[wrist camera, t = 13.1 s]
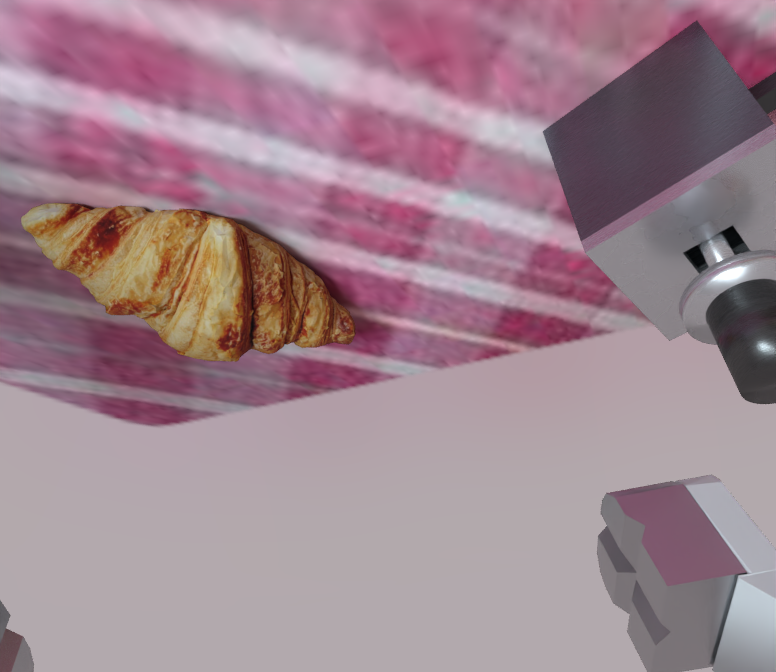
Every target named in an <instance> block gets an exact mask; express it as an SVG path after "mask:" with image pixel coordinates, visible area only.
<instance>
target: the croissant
mask: <svg viewBox="0 0 776 672" xmlns="http://www.w3.org/2000/svg"><path fill="white" fill-rule="evenodd" d="M21 222H22V226H23V228H24V229H25V230H26V231H27V232H29V233H31V234H32V235H33V236H34V238H35V242H36V243H37V245H38V246H39V247H40V248H42V253H43V254H44V255H45V256H46V257H47V258H49V259H51V260H52V262H53V265H54V267H56V268H57V269H58V270H66V271H68V272H70V273H72V274H74V275H76V276H77V277H78V278H80V281H81V283H82V284H83V285H84V286H85V287H86V288H88V289H89V291H90V293H91V294H92V295H93V296H94V297H95V299H96V301H97V302H98V303H101V304H102V305H105V308H106V313H108V314H110V315H133V314H134V315H136V316H137V317H139V318H142V319H144V320H145V321H146V322H147V323H148V324H149V325H150V327H151V328H153V329H154V330H156V331H157V332H158V334H159V336H160V338H161V339H162V340H163V342H165V343H166V344H167V345H169V346H171V347H172V348H174V349H176V350H177V352H178V354H181V355H184V356H188V357H192V358H196V359H202V360H207V361H230V362H231V361H235V362H236V361H238V360H239V358H240V357H241V356H242V355H243V354H244V353H246V352H247V351H248V350H250V349H255V350H258V351H260V352H263V353H267V354H270V353H275V352H277V351H278V350H279V349H281V348H282V347H283V346H284V344H289V343H291V342H294V343H295V344H296V345H298V346H300V347H301V348H306V347H319V346H323V345H326V344H329V343H333V342H336V343H340V344H350V343H351V342H352V340H353V338H354V336H355V334H356V333H355V323H354V320H353V318H352V317H351V315H350V312H349V311H348V310H347V309H345V308H344V307H343V306H341V305H340V304H339V303H337V302H336V300H335V299H334V298H332V297H331V296H330V294H329V291H328V290H327V288H326V286H325V284H324V283H323V281H322V279H321V278H320V277H319V276H317V275H315V273H314V272H313V271H312V270H311V269H309V268H308V267H307V266H306V265H304V264H302V263H300V262H298V261H297V260H296V259H295V258H293V257H292V256H291V255H290V254H289V253H288V252H287V251H286V250H285V249H284V248H283V247H282V246H281V245H279V244H278V243H276V242H274V241H272V240H270V239H268V238H266V237H264V236H262V235H260V234H258V233H254V232H252V231H251V230H250V229H248V228H246V227H245V226H243V225H241V224H237V223H236V222H235V221H234V220H232V219H229V218H225V217H219V216H214V215H209V214H207V213H205V212H202V211H197V210H191V209H179V210H162V211H159V210H157V209H156V211H155V212H148V211H146V210H145V209H144V208H142V207H130V206H117V207H113V208H107V209H106V208H95V209H93V210H90V209H88V208H85V207H83V206H81V205H79V204H61V203H52V204H43V205H40V206H37V207H34V208H32V209H31V210H30V211H29V212H28V213H27V214H25V215H24V216H22V217H21Z"/></svg>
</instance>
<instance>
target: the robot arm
mask: <svg viewBox="0 0 776 672" xmlns="http://www.w3.org/2000/svg"><path fill="white" fill-rule="evenodd" d="M601 515H602V517H603V519H604V521H605V522H606V524H607V526H606V528H605V529H604V530H603V531H602V532H601V533H600V534H599V536H598V547H597V555H598V561H599V567H600V572H601V575H602V578H603V581H604V584H605V587H606V589H607V591H608V593H609V595H610V597H611V600H612V602H613V603H614V604H615V605H617V606H618V607H620V608H622V609H623V610H624V611H626V612H627V613H629V614H630V616H629V623H628V630H627V632H628V634H629V636H630V638H631V640H632V642H633V644H634V646H635V648H636V650H637V652H638V654H639V656H640V658H641V660H642V662H643V664H644V666H645V668H646V670H647V672H682V671H688V670H694V669H701V668H707V667H713V669H712V670H713V671H714V672H776V549H775V548H774V546H773V545H772V544H771V543H770V541H769V540H768V539H767V538H766V536H765V535H764V534H763V533H762V531H761V530H760V529H759V528H758V526H757V525H756V524H755V523H754V521H753V520H752V519H751V518H750V516H749V515H748V514H747V513H746V512H745V510H744V509H743V508H742V507H741V505H740V504H739V503H738V502H737V500H736V499H735V498H734V497H733V496H732V494H731V493H730V492H729V490H728V489H727V488H726V487H725V485H724V484H723V483H722V482H721V480H720V479H718V478H717V477H715V476H713V475H707V476H701V477H696V478H690V479H684V480H678V481H676V482H672V481H670V482H665V483H660V484H654V485H649V486H644V487H638V488H632V489H627V490H621V491H616V492H611V493H606V495H605V496H604V498H603V500H602V506H601ZM9 618H10V614H9V612H8V611H7V610H6V608H5V607H4V605H3V604H2V602H1V601H0V672H33V671H34V663H33V659H32V655H31V651H30V648H29V646H28V644H27V642H26V641H25V639H24V637H23V636H21V635H19V634H17V633H15V632H12V631H10V630H8V629H6V626H7V623H8V621H9Z"/></svg>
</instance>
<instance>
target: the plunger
mask: <svg viewBox="0 0 776 672" xmlns="http://www.w3.org/2000/svg"><path fill="white" fill-rule="evenodd" d="M698 247H699V249H700V251H701V253H702V255H703V257H704V259H705V260H706V262H707V264H708V266H709V267H708V268H707V269H706V270H704V271H703V272H701V273H700V274H699V275H698V276H696V277H695V278H694V279H693V280H692V281H691V282H690V283H689V285H688V286H687V287H686V289H685V290H684V292H683V293H682V296H681V298H680V301H679V314H680V316H681V319H682V321H683V323H684V325H685V328H686V330H687V332H688V333H689V334H690V335H691V336H692V337H693V338H695V339H697V340H698V341H701V342H704V343H708V344H714V345H718V347H719V349H720V351H721V353H722V356H723V358H724V360H725V362H726V364H727V366H728V368H729V370H730V373H731V375H732V377H733V379H734V381H735V383H736V385H737V388H738V390H739V392H740V394H741V396H742V397H743V398H744V399H745V400H747V401H749V402H752V403H757V404H772V403H776V251H775V250H755V251H749V252H744V253H740V254H737V255H735V254H734V253H733V251H732V249H731V247H730V245H729V244H728V242H727V240H726V238H725V236H724V235H723V233H722V231H721V232H719V233H718V234H716V235H714V236H712V237H710V238H709V239H707V240H705V241H703V242H701V243H700V244H698Z"/></svg>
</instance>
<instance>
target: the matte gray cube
mask: <svg viewBox="0 0 776 672" xmlns="http://www.w3.org/2000/svg"><path fill="white" fill-rule="evenodd" d="M775 109H776V72H775V73H774V74H772V75H770V76H769V77H767V78H766V79H764V80H763V81H761V82H760V83H758V84H756V85H755V86H753V87H752V88H750V89H749V90H748V88H747V87H746V86H745V84H744V83H743V82H742V80H741V79H740V78H739V76H738V75H737V74H736V72H735V71H734V70H733V68H732V67H731V66H730V64H729V63H728V62H727V60H726V59H725V58H724V56H723V55H722V54H721V52H720V51H719V50H718V48H717V47H716V45H715V44H714V43H713V41H712V40H711V39H710V37H709V36H708V35H707V33H706V32H705V31H704V29H703V28H702V27H701V25H700V24H699V23H698V21H696V22H694V23H693V24H691V25H690V26H689V27H687V28H686V29H685V30H683V31H682V32H680V33H679V34H678V35H676V36H675V37H673V38H672V39H671V40H669V41H668V42H666V43H665V44H664V45H662V46H661V47H660V48H658V49H657V50H655V51H654V52H653V53H651V54H650V55H648V56H647V57H646V58H644V59H643V60H642V61H640V62H639V63H637V64H636V65H635V66H633V67H632V68H630V69H629V70H628V71H626V72H625V73H623V74H622V75H621V76H619V77H618V78H617V79H615V80H614V81H612V82H611V83H610V84H608V85H607V86H605V87H604V88H603V89H601V90H600V91H599V92H597V93H596V94H594V95H593V96H592V97H590V98H589V99H587V100H586V101H585V102H583V103H582V104H580V105H579V106H578V107H576V108H575V109H574V110H572V111H571V112H569V113H568V114H567V115H565V116H564V117H562V118H561V119H560V120H558V121H557V122H556V123H554V124H553V125H551V126H550V127H549V128H547V129H546V130H544V131H543V133H544V136H545V139H546V142H547V145H548V148H549V150H550V153H551V156H552V159H553V162H554V165H555V168H556V171H557V173H558V176H559V179H560V182H561V185H562V188H563V191H564V194H565V196H566V199H567V202H568V205H569V208H570V211H571V214H572V217H573V219H574V222H575V225H576V228H577V231H578V234H579V237H580V240H581V242H582V245H583V248H584V251H585V253H586V254H587V255H588V256H589V257H590V258H591V259H592V261H593V262H594V263H595V264H596V265H597V266H598V267H599V268H600V269H601V270H602V271H603V272H604V273H605V274H606V275H607V276H608V277H609V278H610V279H611V280H612V281H613V282H614V283H615V285H616V286H617V287H618V288H619V289H620V290H621V291H622V292H623V293H624V294H625V295H626V296H627V297H628V298H629V299H630V300H631V301H632V302H633V303H634V304H635V305H636V306H637V307H638V309H639V310H640V311H641V312H642V313H643V314H644V315H645V316H646V317H647V318H648V319H649V320H650V321H651V322H652V323H653V324H654V325H655V326H656V327H657V328H658V329H659V330H660V331H661V332H662V334H664V336H665V337H666V338H667V339H668V340H669V341H670V340H672V339H674V338H676V337H678V336H680V335H682V334H684V333H686V332H687V330H686V328H685V325H684V323H683V321H682V319H681V316H680V314H679V301H680V298H681V296H682V293H683V292H684V290H685V289H686V287H687V286H688V285H689V283H690V282H691V281H692V280H693V279H694V278H695V277H696V276H698V275H699V274H700V273H701V272H703V271H704V270H706V269H707V268H708V267H709V266H708V264H707V262H706V260H705V259H704V257H703V255H702V253H701V251H700V249H699V247H698V244H700V243H701V242H703V241H705V240H707V239H709V238H710V237H712V236H714V235H716V234H718V233H719V232H721V231H722V233H723V235H724V236H725V238H726V240H727V242H728V244H729V245H730V247H731V249H732V251H733V253H734V254H735V255H737V254H740V253H744V252H749V251H755V250H775V251H776V126H775V125H774V123H773V122H772V121H771V119H770V118H769V117H768V115H767V114H768V113H770V112H772V111H773V110H775Z"/></svg>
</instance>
